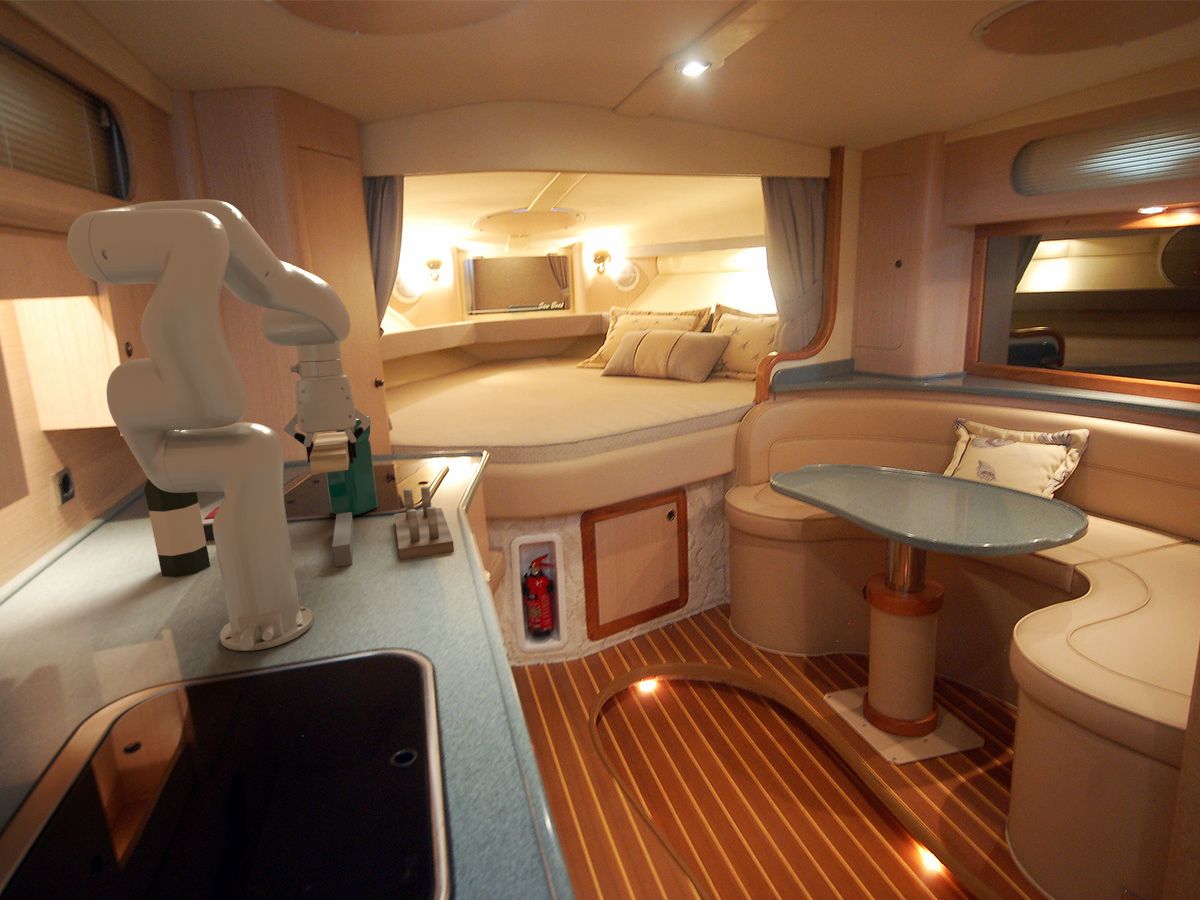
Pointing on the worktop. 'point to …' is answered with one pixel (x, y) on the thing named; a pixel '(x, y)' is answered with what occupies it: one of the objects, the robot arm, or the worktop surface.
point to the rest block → (343, 539)
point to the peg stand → (422, 528)
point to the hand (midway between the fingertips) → (333, 463)
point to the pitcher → (354, 480)
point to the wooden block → (330, 453)
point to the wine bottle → (177, 531)
